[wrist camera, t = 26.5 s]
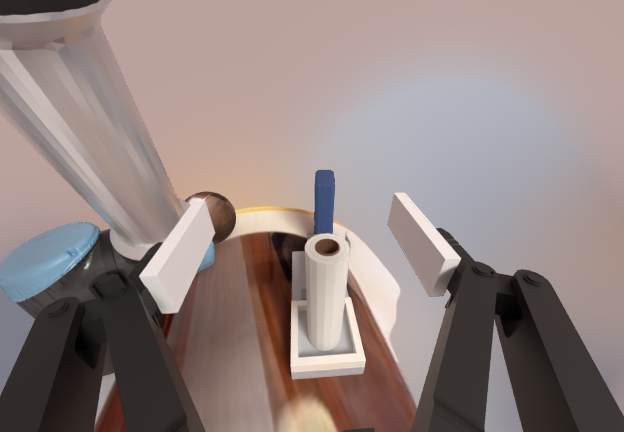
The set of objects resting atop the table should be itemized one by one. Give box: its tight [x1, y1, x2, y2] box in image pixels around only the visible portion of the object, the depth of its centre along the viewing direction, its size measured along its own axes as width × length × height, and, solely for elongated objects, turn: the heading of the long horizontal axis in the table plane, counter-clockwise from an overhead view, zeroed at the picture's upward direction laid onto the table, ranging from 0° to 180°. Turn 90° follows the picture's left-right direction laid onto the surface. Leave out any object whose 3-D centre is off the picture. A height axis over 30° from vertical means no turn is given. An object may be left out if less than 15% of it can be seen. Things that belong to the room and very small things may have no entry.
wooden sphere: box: [185, 192, 236, 244], centre depth 65 cm, size 15×15×15 cm
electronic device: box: [314, 170, 335, 234], centre depth 63 cm, size 10×5×20 cm, turn 178°
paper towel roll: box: [305, 230, 351, 351], centre depth 36 cm, size 7×6×21 cm
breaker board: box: [291, 251, 366, 379], centre depth 49 cm, size 28×12×4 cm, turn 4°
